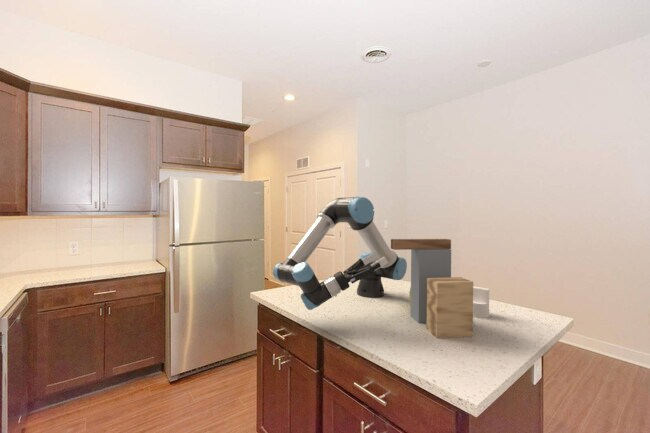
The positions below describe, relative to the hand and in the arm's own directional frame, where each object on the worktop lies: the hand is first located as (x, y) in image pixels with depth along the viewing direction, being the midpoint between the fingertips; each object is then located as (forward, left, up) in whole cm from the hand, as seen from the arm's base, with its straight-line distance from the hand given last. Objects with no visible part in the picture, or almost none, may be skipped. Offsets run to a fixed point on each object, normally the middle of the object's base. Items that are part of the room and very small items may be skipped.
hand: (381, 257), depth 126 cm
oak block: (+15, +22, -27) cm, 38 cm away
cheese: (-12, +24, -27) cm, 38 cm away
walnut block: (0, +17, +3) cm, 18 cm away
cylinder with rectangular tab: (-3, +46, -27) cm, 53 cm away
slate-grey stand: (0, +22, -27) cm, 35 cm away
